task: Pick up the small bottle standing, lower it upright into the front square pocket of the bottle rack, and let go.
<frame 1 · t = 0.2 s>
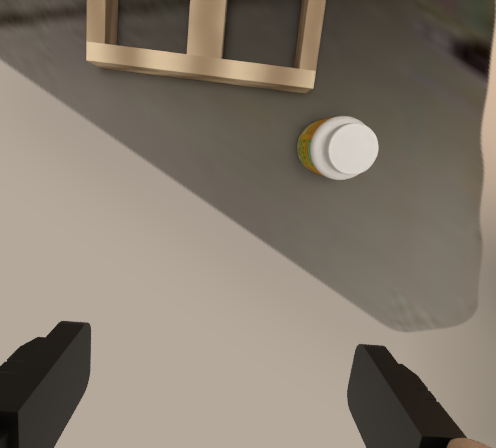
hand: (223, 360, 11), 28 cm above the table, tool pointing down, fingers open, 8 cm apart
bottle rack: (209, 25, 34), on the table
supplement bottle: (321, 146, 38), on the table
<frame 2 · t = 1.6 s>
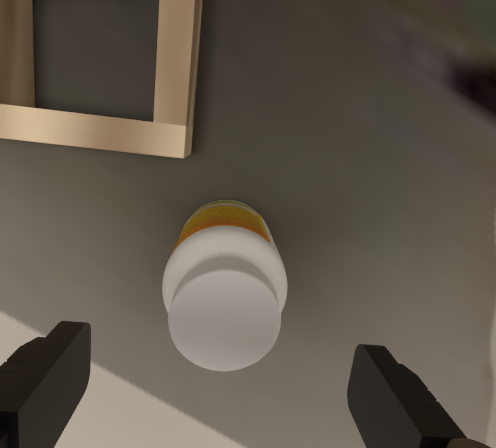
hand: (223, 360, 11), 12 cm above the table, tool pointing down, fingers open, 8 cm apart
bottle rack: (2, 33, 19), on the table
supplement bottle: (225, 240, 22), on the table
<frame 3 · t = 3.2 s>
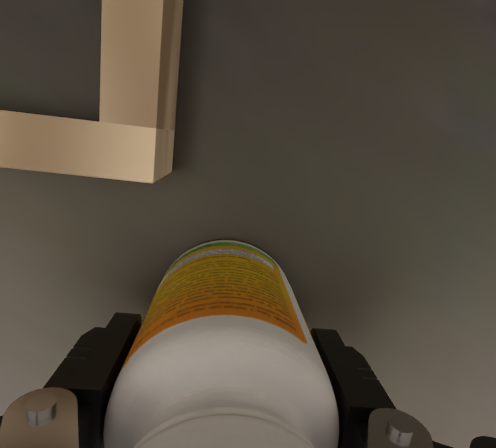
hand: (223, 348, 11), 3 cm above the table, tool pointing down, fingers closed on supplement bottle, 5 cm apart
supplement bottle: (225, 298, 15), on the table, touching gripper
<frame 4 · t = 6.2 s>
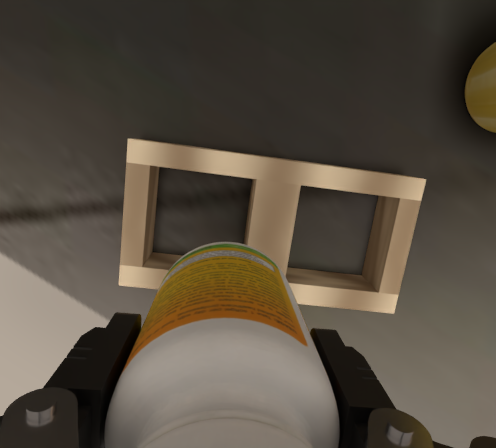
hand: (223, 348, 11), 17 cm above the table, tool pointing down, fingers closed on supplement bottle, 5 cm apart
bottle rack: (265, 221, 28), on the table
supplement bottle: (225, 299, 15), point 13 cm above the table, touching gripper
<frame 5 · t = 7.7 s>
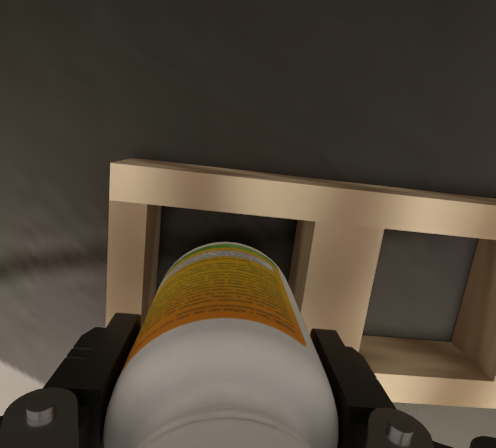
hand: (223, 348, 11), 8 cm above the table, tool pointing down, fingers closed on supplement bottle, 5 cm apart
bottle rack: (317, 272, 20), on the table
supplement bottle: (224, 299, 15), point 4 cm above the table, touching gripper
when the fingers open (5 cm above the table, at t = 9.1 s): supplement bottle drops 1 cm, resting in bottle rack.
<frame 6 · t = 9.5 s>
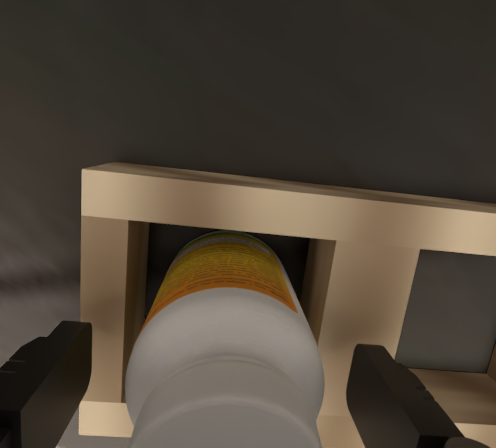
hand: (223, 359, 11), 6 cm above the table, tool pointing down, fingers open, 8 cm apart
bottle rack: (333, 295, 17), on the table
supplement bottle: (226, 283, 17), resting in bottle rack
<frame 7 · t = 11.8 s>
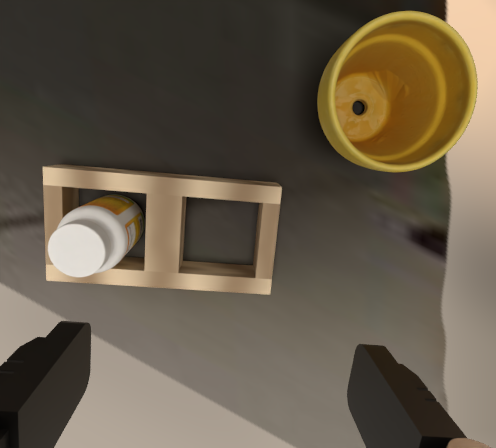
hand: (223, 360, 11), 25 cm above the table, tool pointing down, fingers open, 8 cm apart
bottle rack: (169, 225, 35), on the table
supplement bottle: (118, 220, 35), resting in bottle rack
plant pot: (353, 108, 34), on the table
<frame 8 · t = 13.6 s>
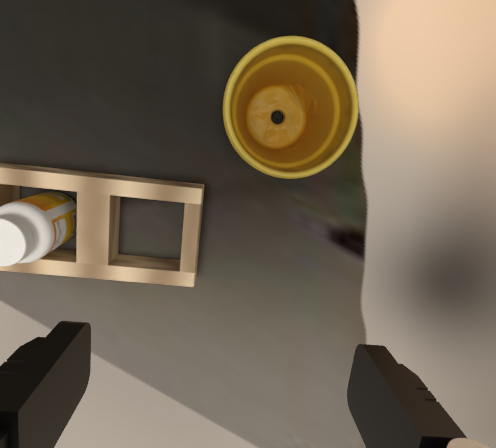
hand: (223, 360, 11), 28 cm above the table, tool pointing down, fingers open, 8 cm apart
bottle rack: (104, 221, 38), on the table
supplement bottle: (57, 215, 38), resting in bottle rack
plant pot: (275, 117, 37), on the table
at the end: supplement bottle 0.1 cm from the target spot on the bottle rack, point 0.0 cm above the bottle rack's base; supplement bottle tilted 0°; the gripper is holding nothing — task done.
